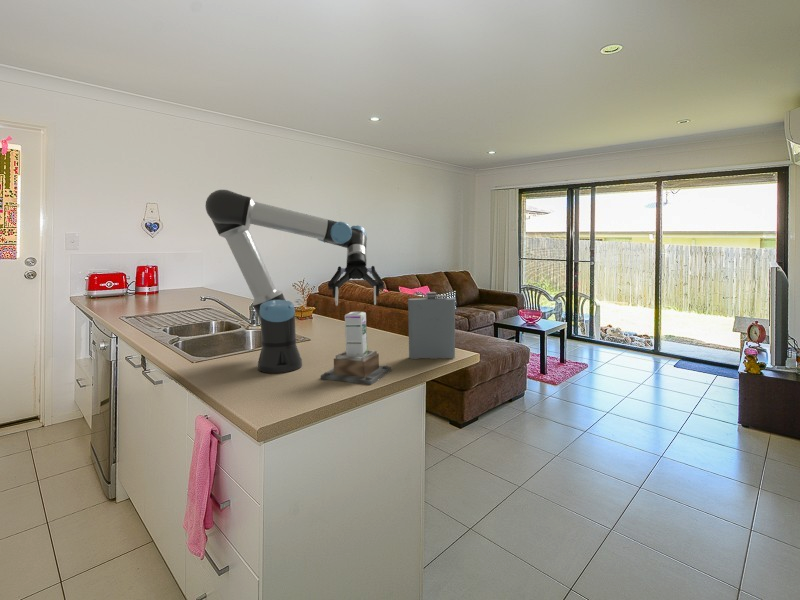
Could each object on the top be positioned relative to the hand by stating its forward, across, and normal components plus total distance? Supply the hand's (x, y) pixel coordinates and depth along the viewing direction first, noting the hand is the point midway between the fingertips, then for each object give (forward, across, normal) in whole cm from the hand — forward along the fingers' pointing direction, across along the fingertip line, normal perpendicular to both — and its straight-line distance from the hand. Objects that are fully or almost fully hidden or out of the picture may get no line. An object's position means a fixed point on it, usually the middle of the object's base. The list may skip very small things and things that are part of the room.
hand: (355, 303), depth 150 cm
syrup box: (+20, -1, -3) cm, 20 cm away
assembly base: (+24, 0, -7) cm, 25 cm away
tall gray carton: (+11, -28, -21) cm, 37 cm away
